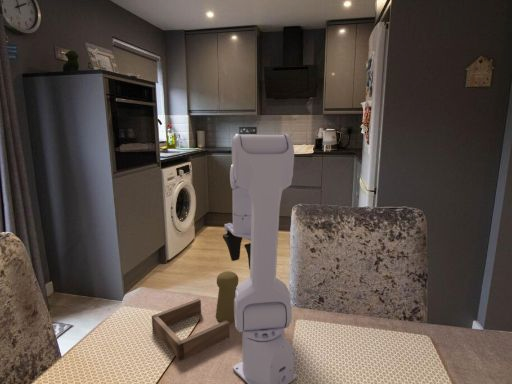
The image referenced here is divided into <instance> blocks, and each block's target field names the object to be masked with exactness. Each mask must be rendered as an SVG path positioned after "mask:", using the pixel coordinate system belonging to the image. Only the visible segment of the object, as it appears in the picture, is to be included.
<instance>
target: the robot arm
mask: <svg viewBox="0 0 512 384" xmlns="http://www.w3.org/2000/svg"><path fill="white" fill-rule="evenodd" d="M231 162H232V163H231V165H230V170H229V181H230V188H231V190H232V223H231V222H228V223H224V232H225V234H223V235H222V239H223V240H224V242H225V244H226V247H227V249H228V253H229V256H230V260H231V262H235V261H238V260H240V257H241V246H242V242H243V241H242V240H243V239H245V240H248V241H250V243H249V242H248V243H246V244H244V245H243V246H244V248H245V250H246V254H247V259H248V268H249V277H248V278H246V279H244V280H243V281H242V282H241V283H238V285H237V287H236V289H237V290H236V291H235V299H234V318H235V322H234V326H235V329H236V330H237V331H238V333H242V334H241V337H242V339H241V341H242V342H241V343H242V344H241V346H242V349H241V351H242V352H241V354H242V356H241V357H242V358H241V359H242V361H239V362H238V363H236V364H234V365H233V366H232V370H233V371H234V372H235V373H236V374H237V375H238V376H239V377H240V378H241V379H242V380H244V382H246V383H247V384H290V383H291V382H293V381H295V380H296V379H297V374H296V373H295V372H294V370H295V348H294V346H293V345H292V343H290V341H289V340H288V339H287V338H286V337H285V329H287V328H289V327H290V325H291V323H292V319H293V314H292V304H291V302H292V299H291V298H292V296H291V293H290V291H289V288H288V286H287V285H286V283H285V282H284V281H282V280H281V279H279V278H278V277H277V268H278V267H277V263H278V243H279V228H280V227H279V225H280V207H281V202H282V201H281V200H282V194H283V191H284V190H286V189H287V188H288V187H290V186H291V185H292V181H293V180H292V179H293V177H294V165H295V150H294V142H293V139H292V137H290V135H289V134H288V133H283V134H240V133H236V134H234V136H232V140H231Z"/></svg>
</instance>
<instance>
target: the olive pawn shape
mask: <svg viewBox="0 0 512 384" xmlns="http://www.w3.org/2000/svg"><path fill="white" fill-rule="evenodd" d="M216 285H217V287H218V293H217V294H218V295H217V301H216V303H217V304H216V310H215V320H216V321H217V322H219V323H221V322H224V321H226V320H227V321H228V322H229V324H233V323H235V318H234V299H235V291H236V290H237V286H238V285H239V276H238V274H236V273H235V272H234V271H222V272H221V273H219V274H218V275H217V277H216Z"/></svg>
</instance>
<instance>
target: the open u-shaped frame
mask: <svg viewBox="0 0 512 384" xmlns="http://www.w3.org/2000/svg"><path fill="white" fill-rule="evenodd" d="M201 300H202V299H200V298H196V299H193V300H190V301H189V302H185V303H182V304H180V305H177V306H175V307H172V308H169V309H167V310H164V311H161V312H158V313H155V314H152V315H151V325H152V331H153V332H154V333H155V335H156V336H157V337H158V338H159V339H160V340H161V341H162V342H163V344H164V345H165V346H166V347H167V348H168V349H169V351H171V352H172V354H173V356H175V358H177V360H179V361H182V360H184V359H186V358H189V357H190V356H193V355H194V354H196V353H198V352H201V351H202V350H205V349H206V348H209V347H211V346H213V345H215V344H217V343H219V342H221V341H224V340H226V339H227V338H230V323H229V322H228V321H227V320H226V321H224V322H219V323H217V324H215V325H212V326H211V327H207V328H206V329H204V330H201V331H199V332H196V333H194V334H192V335H189V336H187V337H186V338H183V339H181V338H179V336H177V334H176V333H175V332H174V331H173V330H172V329H171V328H170V326H173V325H176V324H177V323H180V322H183V321H184V320H188V319H190V318H192V317H194V316H199V314H202V301H201Z"/></svg>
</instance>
